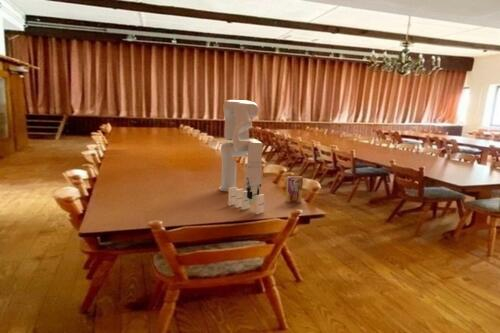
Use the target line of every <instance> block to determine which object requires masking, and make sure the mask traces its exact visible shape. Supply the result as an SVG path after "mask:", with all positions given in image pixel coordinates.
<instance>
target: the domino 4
mask: <svg viewBox="0 0 500 333" xmlns="http://www.w3.org/2000/svg"><path fill="white" fill-rule="evenodd" d="M264 212H265V194H264V193H259V195H256V203H255V214H256V215H259V214H263V213H264Z"/></svg>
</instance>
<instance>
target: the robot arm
mask: <svg viewBox="0 0 500 333" xmlns="http://www.w3.org/2000/svg"><path fill="white" fill-rule="evenodd" d="M222 111H223V115H224V131H223V132H224V133H223V136H224V139H225V140H226V141H227V142H224V143H222V144H221V146H220V153H221V185H220V186H219V187H218V190H219V191H221V192H228V193H229V188H231V187H237V186H236V185H237V162H236V160H235V159H234V158H237V157H239V158H240V157H246V156H247V162H246V163H247V164H246V167H245V172H244V178H243V179H244V181H243V187H244V189H245V191H247V198H249V199H252V188H253V186H256V185H258V190H257V195H260V190H261V187H262V185H263V184H264V181H263V169H262V168H263V167H262V159H263V156H262V155H263V142H262V141H259V140H258V139H256V138H249V137H250V132H249V129H251V128H252V126H253V122H252V121H253V120H252V118H255V117H257V116H259V113H260V112H259V106H258V104H257V103H256V102H255V101H251V100H239V99H238V100H237V99H228V100H225V101H224V102H223V105H222ZM249 187H250V188H249ZM237 189H239V187H237Z"/></svg>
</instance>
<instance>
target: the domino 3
mask: <svg viewBox="0 0 500 333" xmlns="http://www.w3.org/2000/svg"><path fill="white" fill-rule="evenodd" d="M250 206H251V205H250V204H249V198H247V191H246V190H243V192H242V206H241V207H240V208H241V210H242V211H244V210H249V209H250Z"/></svg>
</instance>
